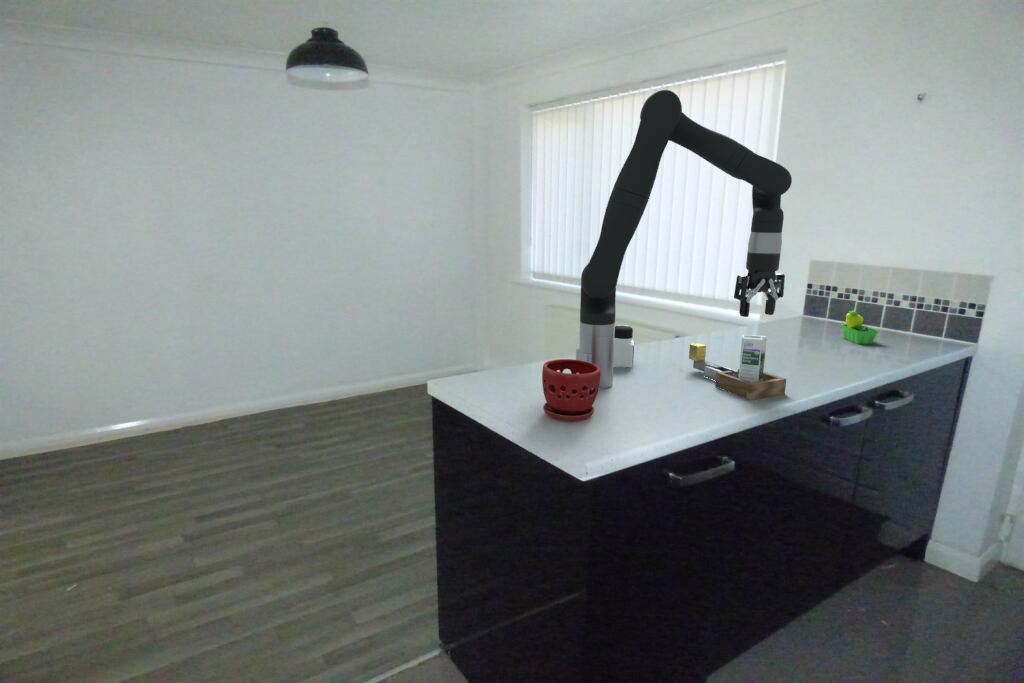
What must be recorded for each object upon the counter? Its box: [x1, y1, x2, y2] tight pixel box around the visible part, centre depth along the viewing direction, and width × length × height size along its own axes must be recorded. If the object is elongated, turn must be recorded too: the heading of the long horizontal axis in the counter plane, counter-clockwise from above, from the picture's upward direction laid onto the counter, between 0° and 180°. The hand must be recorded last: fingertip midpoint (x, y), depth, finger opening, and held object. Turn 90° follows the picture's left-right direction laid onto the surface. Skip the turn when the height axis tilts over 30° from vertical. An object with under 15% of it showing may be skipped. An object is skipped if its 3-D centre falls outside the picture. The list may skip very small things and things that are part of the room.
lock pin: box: [688, 342, 724, 372], centre depth 159 cm, size 3×11×7 cm, turn 24°
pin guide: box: [703, 364, 738, 382], centre depth 154 cm, size 5×8×3 cm, turn 24°
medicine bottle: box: [613, 324, 635, 369], centre depth 169 cm, size 7×7×12 cm
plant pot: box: [541, 358, 601, 423], centre depth 126 cm, size 13×13×12 cm
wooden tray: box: [715, 368, 787, 401], centre depth 145 cm, size 12×12×4 cm
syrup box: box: [738, 334, 767, 383], centre depth 143 cm, size 6×6×14 cm
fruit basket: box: [840, 310, 879, 345], centre depth 199 cm, size 11×9×11 cm
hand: (756, 315), depth 140 cm, fingers open, 8 cm apart
